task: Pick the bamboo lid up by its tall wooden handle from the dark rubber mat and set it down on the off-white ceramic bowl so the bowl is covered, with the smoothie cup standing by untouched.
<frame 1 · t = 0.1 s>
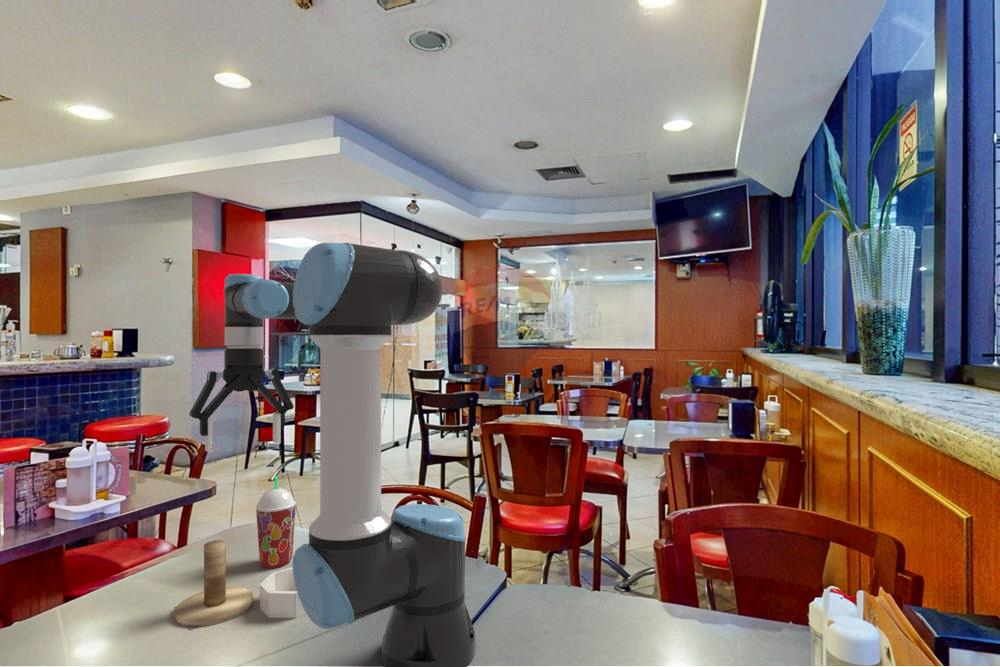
hand: (244, 447, 116), 28 cm above the table, fingers open, 13 cm apart
bowl: (295, 605, 104), on the table
lid: (215, 607, 102), point 1 cm above the table, touching mat
smoothie: (276, 566, 122), on the table
mat: (215, 611, 102), on the table
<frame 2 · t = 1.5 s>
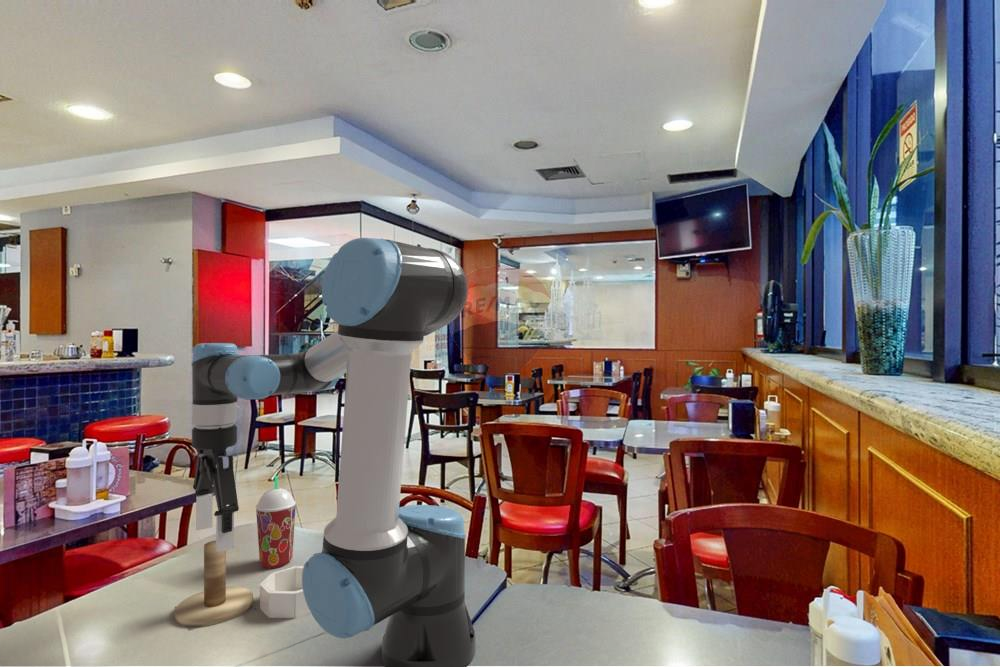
hand: (214, 538, 102), 14 cm above the table, fingers open, 13 cm apart
nothing on the table moved.
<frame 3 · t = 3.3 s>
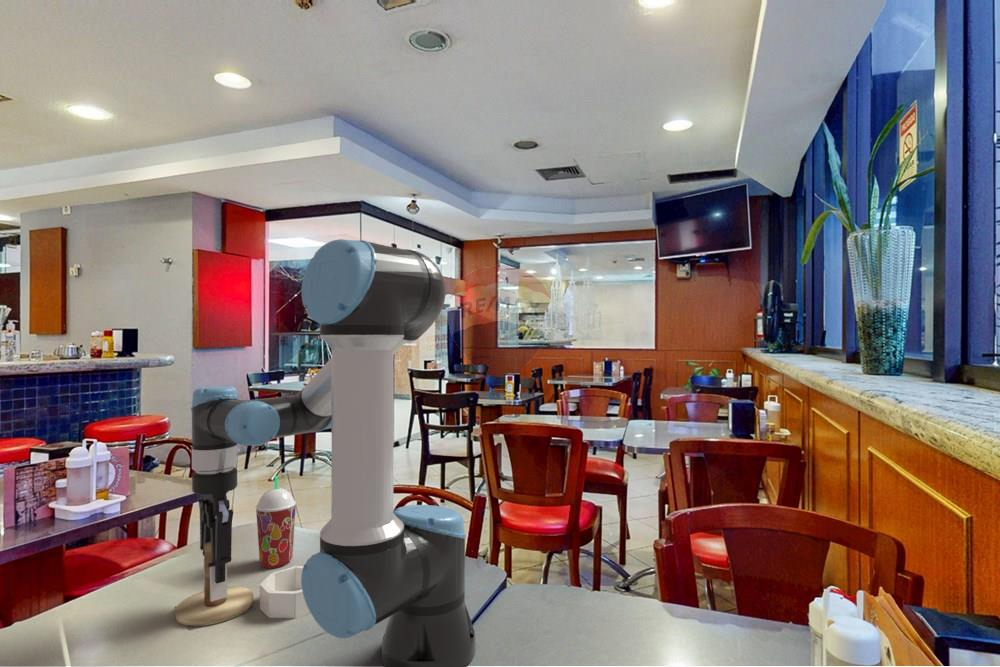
hand: (215, 594, 102), 3 cm above the table, fingers closed on lid, 3 cm apart
lid: (215, 607, 102), point 1 cm above the table, touching gripper
everything else where it was.
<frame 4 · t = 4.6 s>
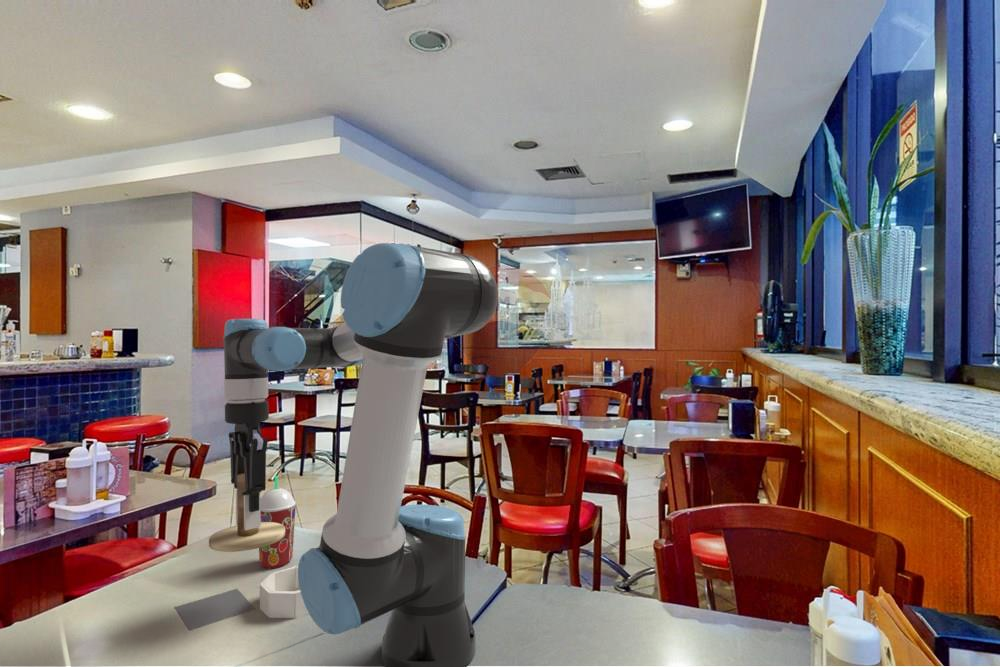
hand: (248, 525, 102), 16 cm above the table, fingers closed on lid, 3 cm apart
lid: (248, 538, 102), point 13 cm above the table, touching gripper
everything else where it was.
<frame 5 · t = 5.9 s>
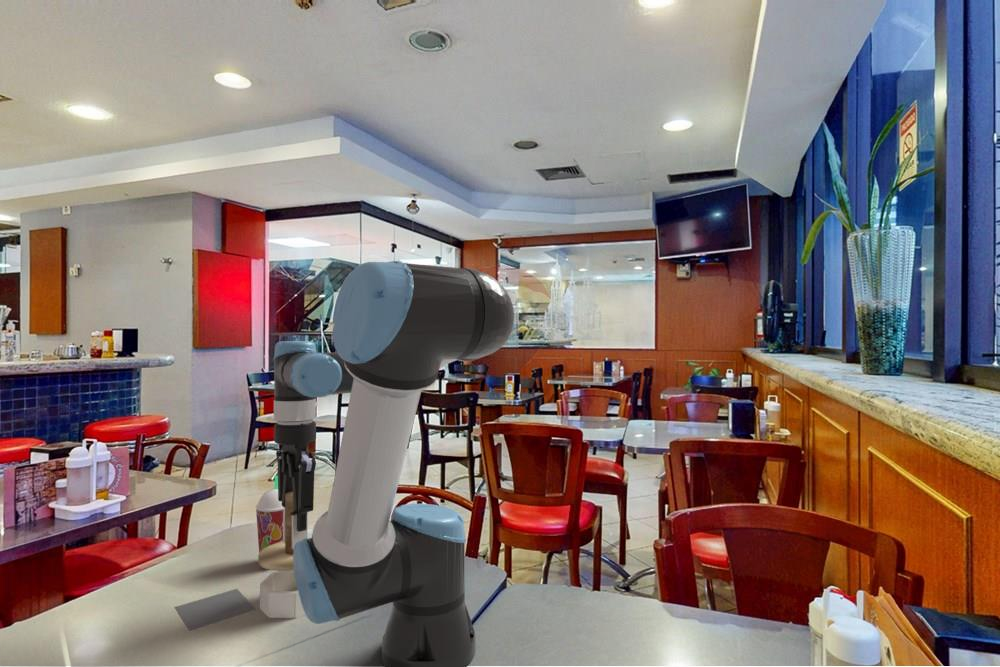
hand: (295, 543, 104), 12 cm above the table, fingers closed on lid, 3 cm apart
lid: (295, 556, 104), point 9 cm above the table, touching gripper
everything else where it was.
when the fingers open (9 cm above the table, at t = 6.5 s): lid drops 2 cm, resting on bowl.
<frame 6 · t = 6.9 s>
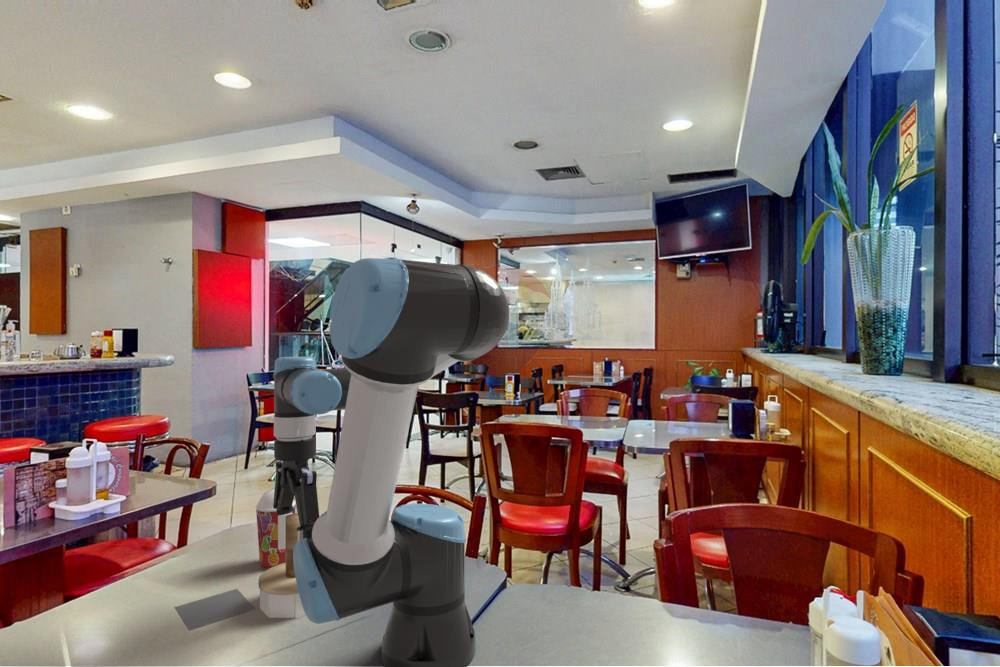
hand: (295, 554, 104), 10 cm above the table, fingers open, 9 cm apart
lid: (295, 579, 104), point 5 cm above the table, touching bowl
everything else where it was.
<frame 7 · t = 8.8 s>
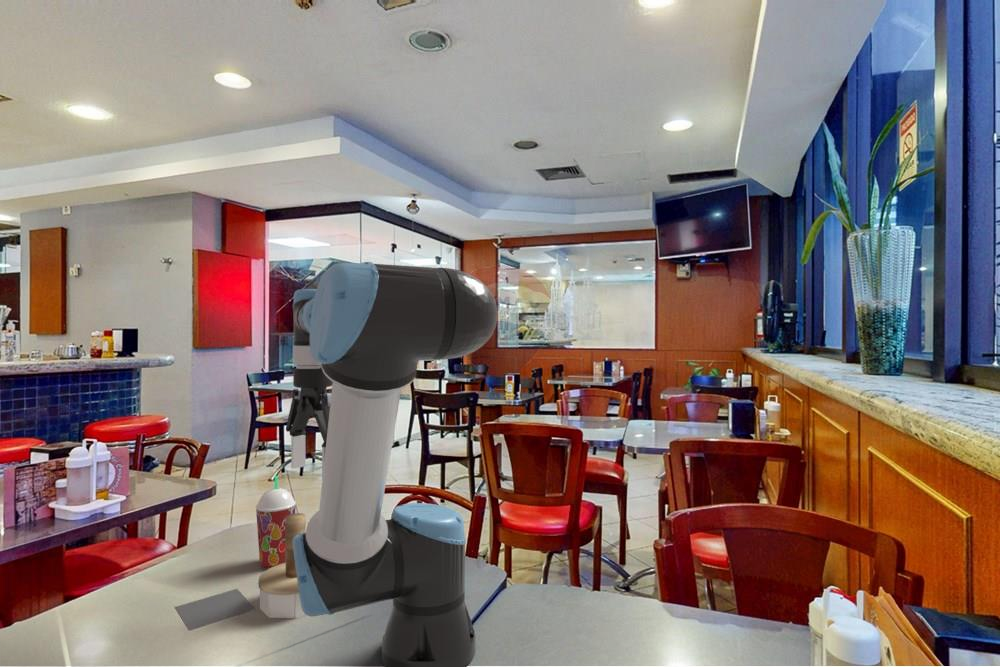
hand: (313, 473, 109), 24 cm above the table, fingers open, 13 cm apart
nothing on the table moved.
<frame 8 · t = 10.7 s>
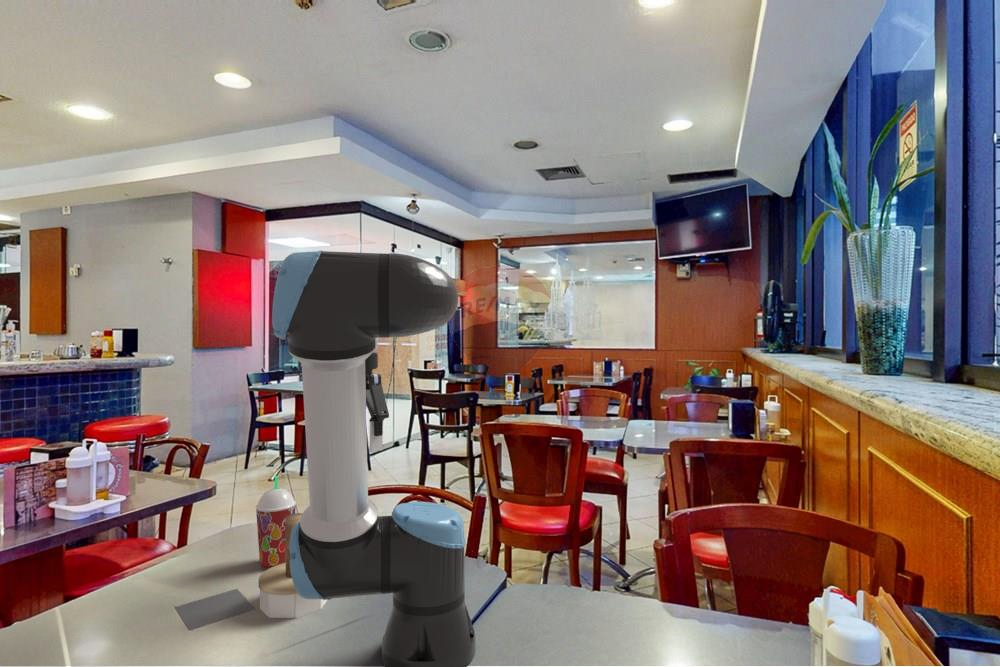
hand: (360, 446, 122), 27 cm above the table, fingers open, 13 cm apart
nothing on the table moved.
at the end: lid 0.0 cm off-centre on the bowl, point 5.0 cm above the bowl's base; lid tilted 0°; the gripper is holding nothing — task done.
